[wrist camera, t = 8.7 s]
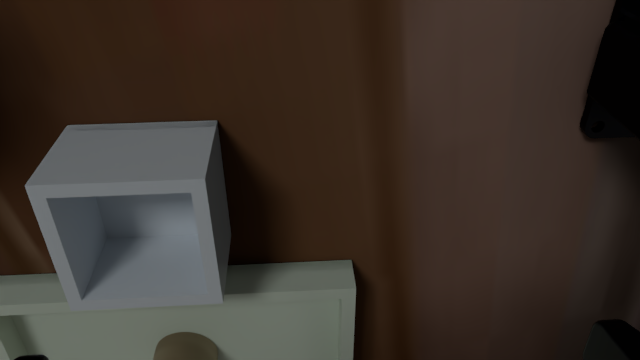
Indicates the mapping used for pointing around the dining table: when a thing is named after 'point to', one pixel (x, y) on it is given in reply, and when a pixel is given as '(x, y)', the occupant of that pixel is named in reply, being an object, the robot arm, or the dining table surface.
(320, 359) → the tray
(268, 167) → the dining table surface
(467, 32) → the dining table surface
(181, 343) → the dowel
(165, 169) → the grey square sleeve
